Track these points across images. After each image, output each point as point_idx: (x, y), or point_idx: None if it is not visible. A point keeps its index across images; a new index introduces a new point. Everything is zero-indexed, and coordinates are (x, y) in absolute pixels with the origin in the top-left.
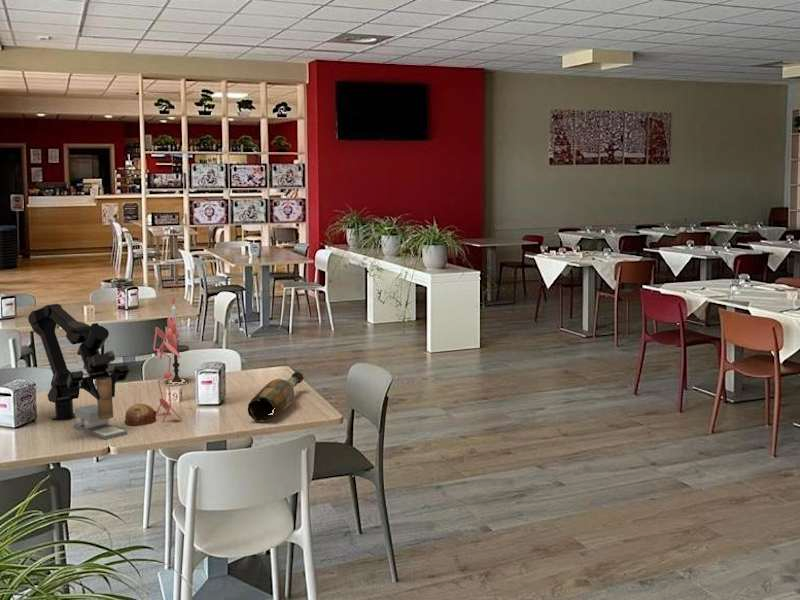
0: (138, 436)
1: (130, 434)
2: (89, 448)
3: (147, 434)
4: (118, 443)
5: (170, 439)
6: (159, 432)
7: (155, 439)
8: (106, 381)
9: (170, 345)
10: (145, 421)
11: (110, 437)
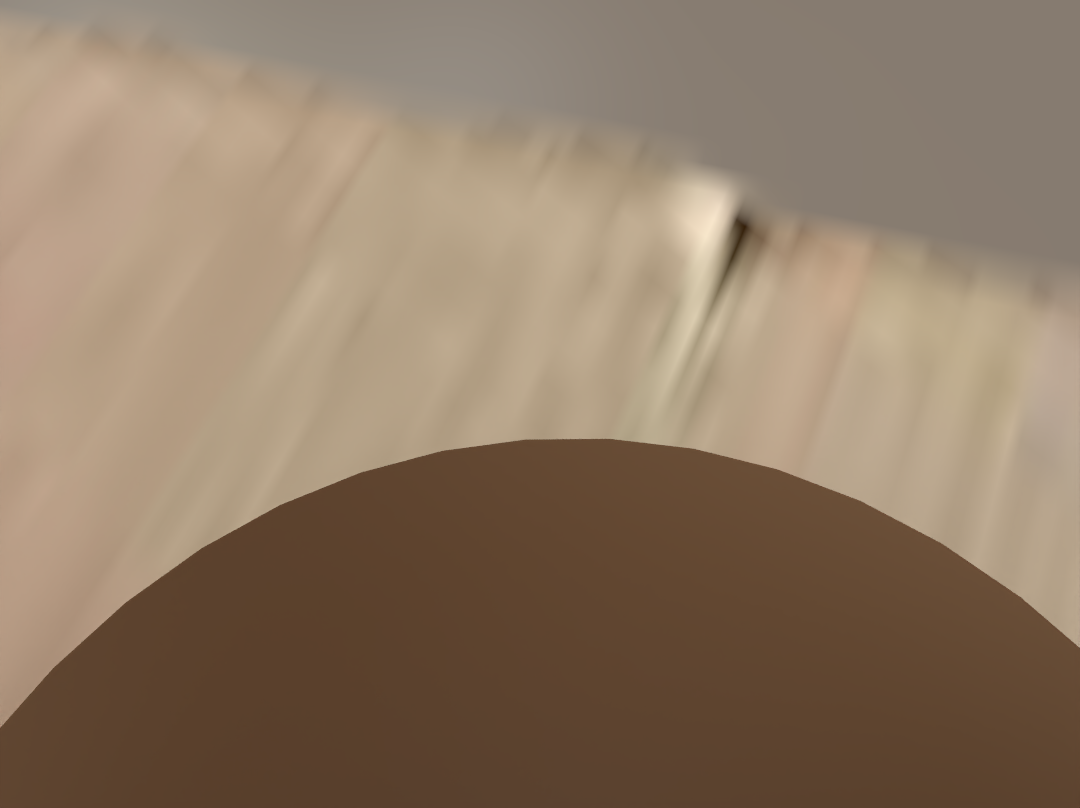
0: (289, 406)
1: None
2: (926, 356)
3: (170, 408)
4: (592, 312)
5: (117, 84)
6: (26, 386)
7: (222, 180)
8: (597, 462)
9: None
10: None
11: None
